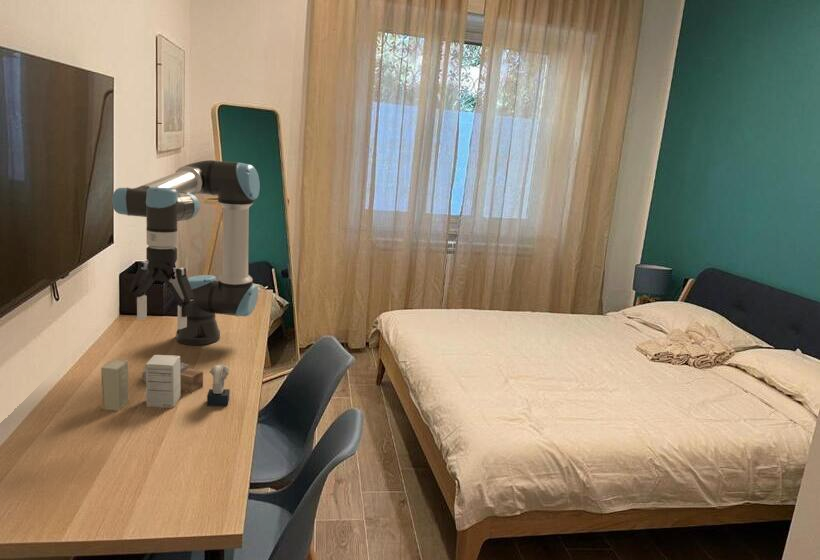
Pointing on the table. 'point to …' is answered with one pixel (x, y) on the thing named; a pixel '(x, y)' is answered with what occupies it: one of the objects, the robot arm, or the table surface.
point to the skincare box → (114, 384)
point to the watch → (218, 387)
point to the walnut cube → (191, 380)
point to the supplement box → (163, 381)
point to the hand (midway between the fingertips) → (161, 323)
